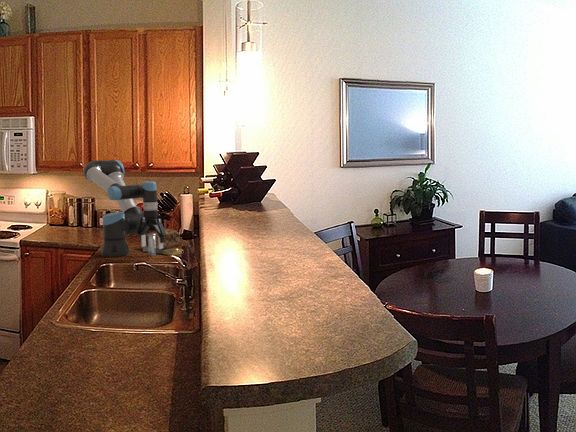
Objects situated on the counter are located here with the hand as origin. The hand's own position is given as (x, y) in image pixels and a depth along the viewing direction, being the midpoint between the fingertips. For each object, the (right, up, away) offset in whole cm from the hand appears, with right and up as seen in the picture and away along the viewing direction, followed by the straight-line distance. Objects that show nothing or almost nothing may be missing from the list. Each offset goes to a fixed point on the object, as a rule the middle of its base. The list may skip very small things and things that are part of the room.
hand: (152, 247), depth 303 cm
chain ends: (+4, -3, +9) cm, 10 cm away
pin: (0, -4, +1) cm, 4 cm away
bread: (0, -1, +28) cm, 28 cm away
